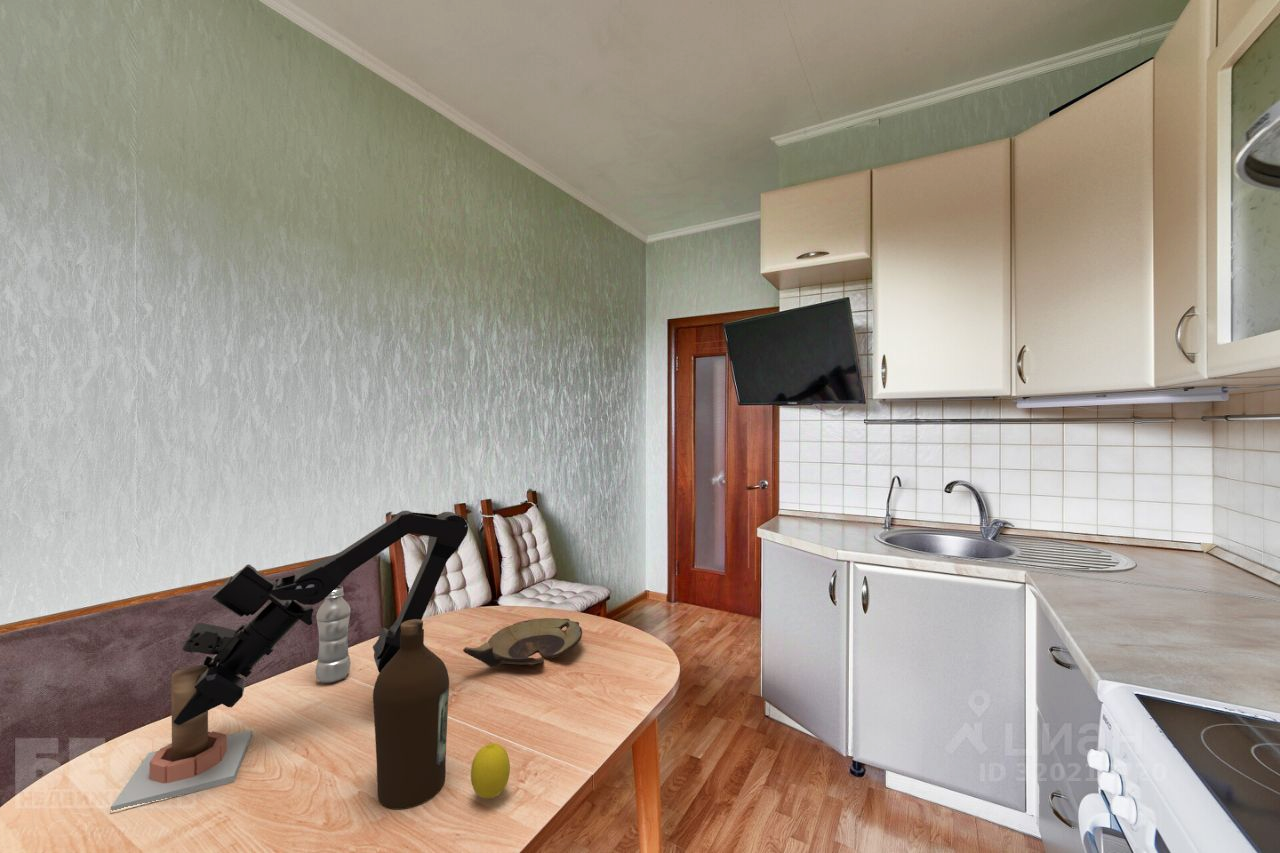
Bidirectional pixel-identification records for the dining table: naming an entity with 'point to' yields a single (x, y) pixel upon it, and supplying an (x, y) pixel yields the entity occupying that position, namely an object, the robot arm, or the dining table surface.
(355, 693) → the dining table surface
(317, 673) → the plastic bottle
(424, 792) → the olive oil
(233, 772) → the band dock
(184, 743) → the walnut peg
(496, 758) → the lemon
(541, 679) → the dining table surface
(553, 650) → the oil lamp
